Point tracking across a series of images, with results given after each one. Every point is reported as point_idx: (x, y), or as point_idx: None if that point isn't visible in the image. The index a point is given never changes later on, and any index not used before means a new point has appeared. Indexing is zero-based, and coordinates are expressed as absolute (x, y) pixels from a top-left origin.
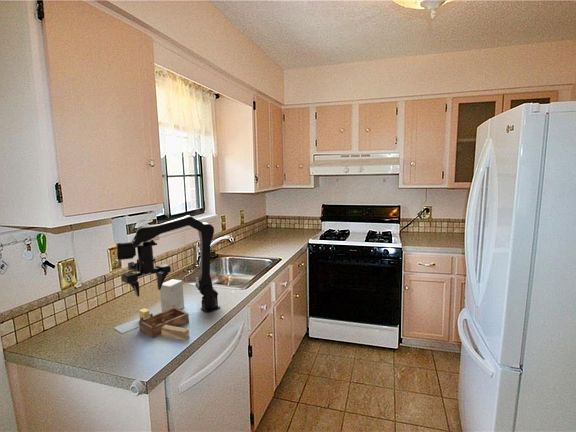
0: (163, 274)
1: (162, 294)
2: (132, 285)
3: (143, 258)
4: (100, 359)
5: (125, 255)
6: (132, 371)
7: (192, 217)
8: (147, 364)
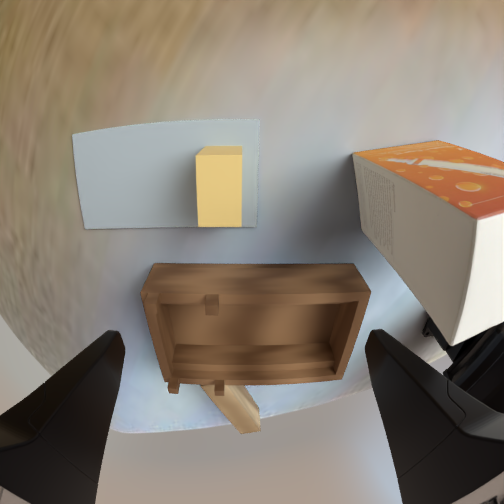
0: None
1: (415, 214)
2: (21, 429)
3: None
4: (31, 328)
5: None
6: None
7: None
8: (125, 414)
